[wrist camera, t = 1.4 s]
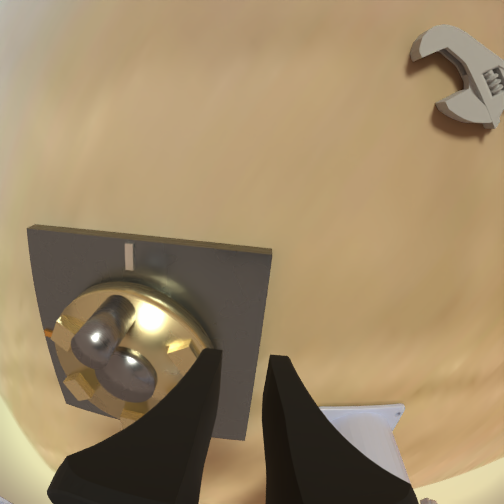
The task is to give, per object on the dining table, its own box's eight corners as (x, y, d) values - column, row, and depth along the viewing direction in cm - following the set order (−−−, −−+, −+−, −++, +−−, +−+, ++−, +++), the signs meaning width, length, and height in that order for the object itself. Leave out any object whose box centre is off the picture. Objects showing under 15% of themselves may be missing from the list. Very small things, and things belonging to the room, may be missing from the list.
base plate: (245, 431, 23) (244, 442, 22) (70, 396, 23) (65, 405, 22) (271, 248, 18) (272, 255, 17) (35, 224, 18) (25, 229, 17)
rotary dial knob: (214, 421, 21) (205, 483, 16) (82, 393, 21) (53, 442, 16) (221, 294, 18) (207, 356, 12) (55, 270, 17) (1, 311, 12)
